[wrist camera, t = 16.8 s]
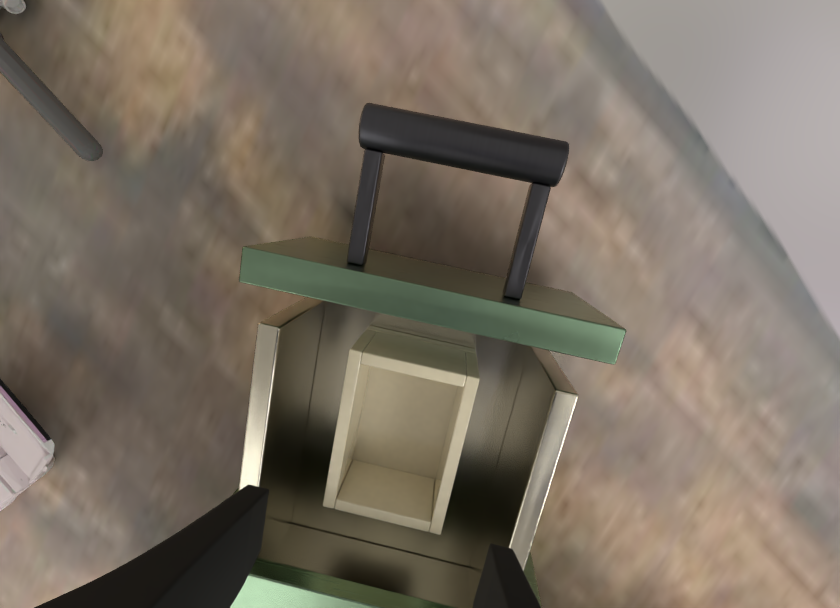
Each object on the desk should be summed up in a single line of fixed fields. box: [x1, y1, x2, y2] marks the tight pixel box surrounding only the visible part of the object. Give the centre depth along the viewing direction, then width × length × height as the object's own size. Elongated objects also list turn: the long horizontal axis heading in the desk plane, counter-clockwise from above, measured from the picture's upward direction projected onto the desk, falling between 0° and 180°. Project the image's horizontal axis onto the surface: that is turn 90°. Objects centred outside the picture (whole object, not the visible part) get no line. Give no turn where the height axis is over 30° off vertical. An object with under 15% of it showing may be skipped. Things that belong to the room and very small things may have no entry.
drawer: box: [239, 103, 626, 608], centre depth 17 cm, size 21×12×6 cm, turn 168°
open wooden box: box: [323, 326, 480, 535], centre depth 18 cm, size 5×7×4 cm
